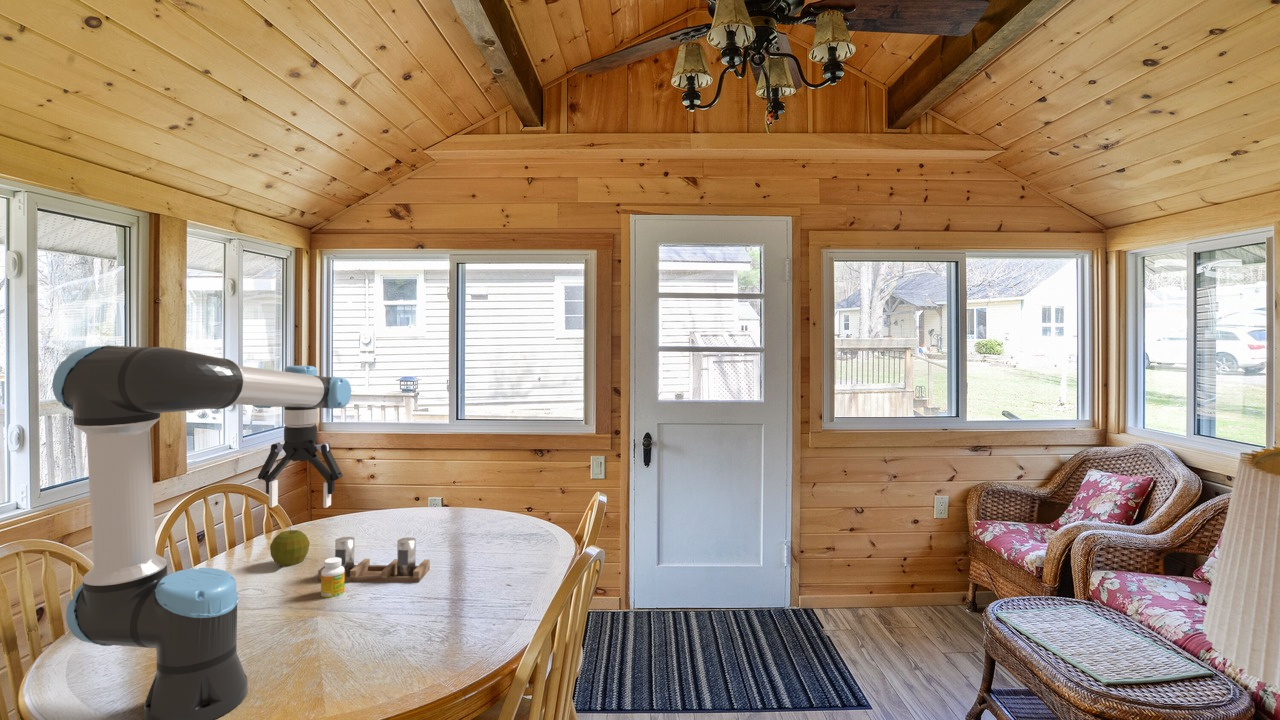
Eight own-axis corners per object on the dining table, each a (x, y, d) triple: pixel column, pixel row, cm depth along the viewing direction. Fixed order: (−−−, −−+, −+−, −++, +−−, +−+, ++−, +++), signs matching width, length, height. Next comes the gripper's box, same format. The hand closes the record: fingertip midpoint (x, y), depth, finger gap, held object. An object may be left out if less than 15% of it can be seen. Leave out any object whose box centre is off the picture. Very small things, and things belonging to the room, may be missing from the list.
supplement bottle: (334, 602, 151) (334, 564, 150) (315, 600, 152) (316, 562, 151) (348, 593, 156) (349, 557, 156) (330, 591, 157) (331, 555, 157)
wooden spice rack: (418, 585, 162) (418, 571, 162) (318, 585, 161) (318, 570, 161) (429, 573, 171) (429, 559, 171) (334, 572, 170) (334, 558, 170)
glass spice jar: (411, 580, 163) (411, 543, 163) (393, 579, 163) (393, 543, 163) (417, 572, 169) (418, 537, 168) (400, 572, 168) (401, 537, 168)
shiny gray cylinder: (348, 579, 163) (348, 543, 162) (330, 579, 163) (330, 543, 162) (357, 571, 168) (357, 536, 168) (340, 571, 168) (340, 536, 168)
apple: (261, 569, 171) (262, 531, 171) (289, 557, 181) (289, 521, 181) (290, 572, 169) (291, 534, 169) (316, 561, 179) (317, 524, 178)
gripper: (356, 423, 159) (355, 502, 159) (259, 422, 157) (259, 502, 158) (343, 427, 151) (343, 510, 152) (242, 426, 150) (242, 510, 150)
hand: (300, 506), depth 155 cm, fingers open, 13 cm apart
